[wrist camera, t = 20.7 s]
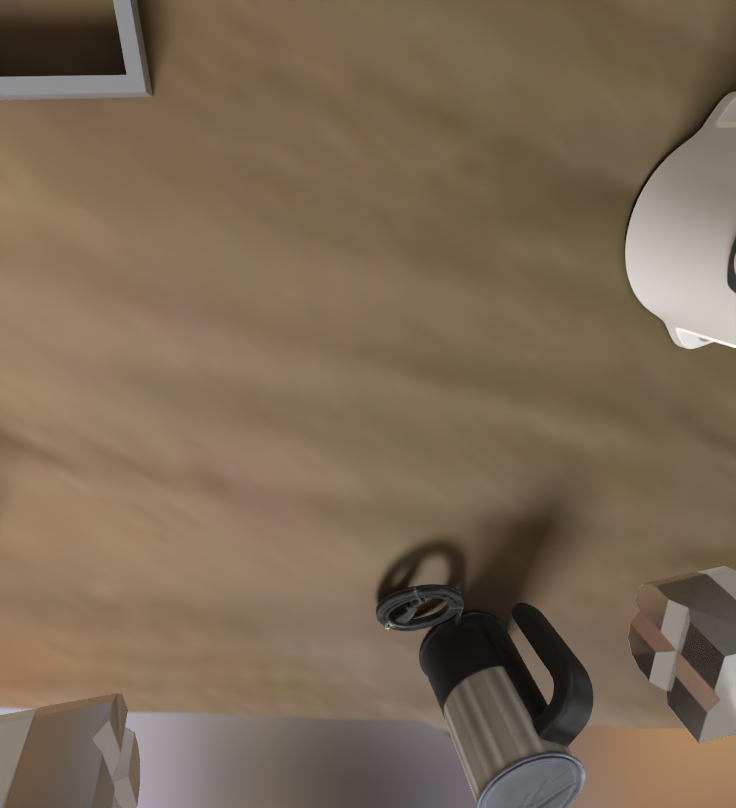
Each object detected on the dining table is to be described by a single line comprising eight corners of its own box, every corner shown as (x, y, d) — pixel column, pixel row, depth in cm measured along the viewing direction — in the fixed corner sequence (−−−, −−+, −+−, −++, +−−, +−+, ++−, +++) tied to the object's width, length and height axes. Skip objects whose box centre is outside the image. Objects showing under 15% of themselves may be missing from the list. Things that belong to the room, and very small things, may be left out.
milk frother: (485, 683, 61) (558, 832, 47) (343, 678, 56) (380, 844, 42) (538, 574, 56) (635, 707, 43) (387, 557, 51) (445, 702, 38)
